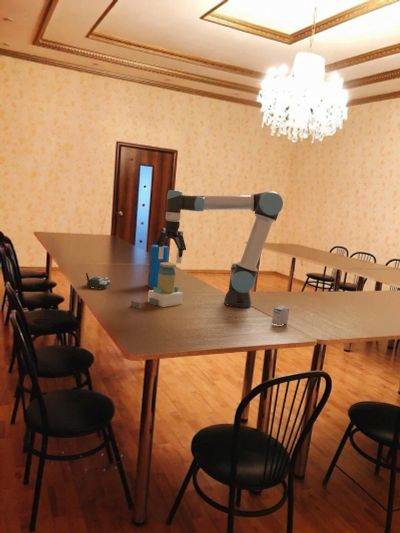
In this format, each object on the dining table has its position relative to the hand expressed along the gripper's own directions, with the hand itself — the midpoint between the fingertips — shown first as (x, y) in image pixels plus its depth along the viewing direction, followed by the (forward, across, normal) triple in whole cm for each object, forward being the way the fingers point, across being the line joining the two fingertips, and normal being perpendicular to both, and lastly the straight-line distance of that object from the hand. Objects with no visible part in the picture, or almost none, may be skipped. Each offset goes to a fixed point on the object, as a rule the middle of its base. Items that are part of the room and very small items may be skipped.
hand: (169, 261), depth 240 cm
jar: (+17, -1, 0) cm, 17 cm away
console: (+22, 0, -7) cm, 24 cm away
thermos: (+23, -32, +23) cm, 46 cm away
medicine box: (+24, +56, +23) cm, 65 cm away
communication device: (+23, -49, -8) cm, 54 cm away
